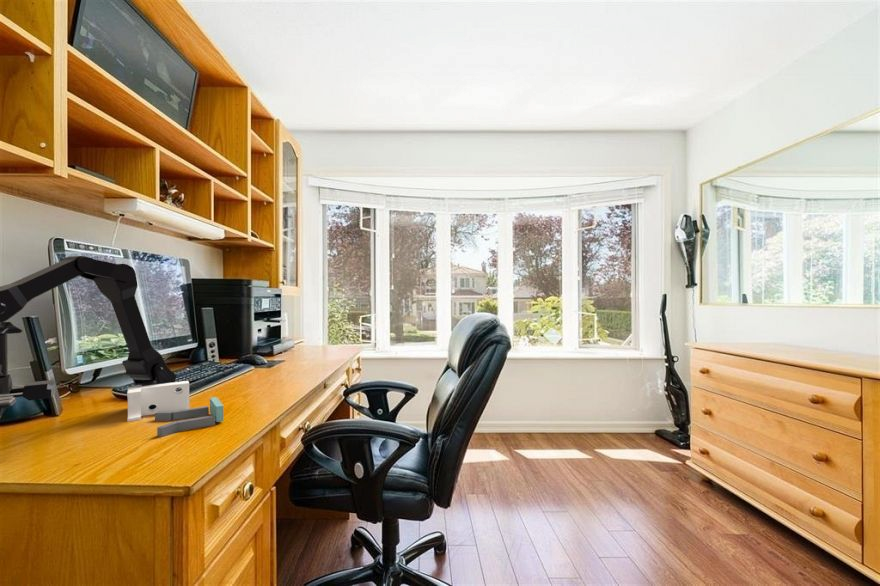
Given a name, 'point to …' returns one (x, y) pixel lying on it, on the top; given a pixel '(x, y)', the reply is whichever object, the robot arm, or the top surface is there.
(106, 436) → the top surface
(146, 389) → the bracket
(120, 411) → the top surface
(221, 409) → the end stop
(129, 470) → the top surface
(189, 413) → the guide dock
